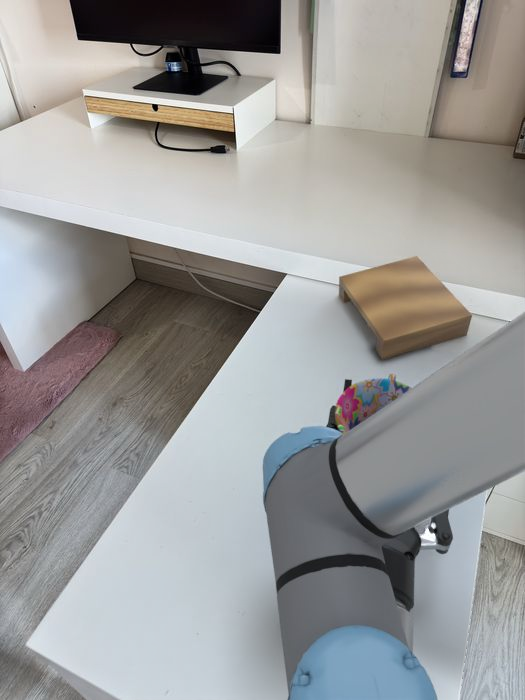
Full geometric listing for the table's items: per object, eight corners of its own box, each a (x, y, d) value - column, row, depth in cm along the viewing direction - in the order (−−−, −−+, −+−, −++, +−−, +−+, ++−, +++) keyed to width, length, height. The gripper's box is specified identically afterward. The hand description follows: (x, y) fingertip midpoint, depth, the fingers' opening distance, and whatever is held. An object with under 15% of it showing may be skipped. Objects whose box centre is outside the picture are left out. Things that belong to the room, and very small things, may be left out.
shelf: (467, 334, 76) (472, 315, 73) (381, 360, 74) (384, 340, 71) (414, 274, 87) (417, 255, 84) (338, 295, 85) (339, 276, 82)
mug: (410, 518, 53) (424, 464, 45) (324, 494, 56) (324, 440, 48) (425, 427, 61) (440, 368, 53) (349, 410, 63) (352, 352, 56)
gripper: (253, 595, 47) (297, 401, 62) (486, 644, 42) (472, 422, 57) (243, 563, 41) (294, 359, 56) (509, 615, 37) (486, 379, 52)
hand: (383, 391), depth 57 cm, fingers closed on mug, 7 cm apart
